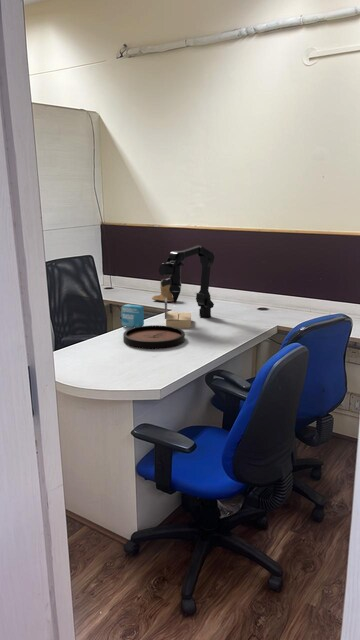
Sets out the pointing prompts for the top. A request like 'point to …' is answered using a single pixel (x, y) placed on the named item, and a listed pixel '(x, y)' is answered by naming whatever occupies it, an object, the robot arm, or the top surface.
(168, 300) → the tan suede boot shape
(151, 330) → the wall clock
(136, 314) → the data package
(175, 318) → the carton flap
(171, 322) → the carton
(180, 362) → the top surface
